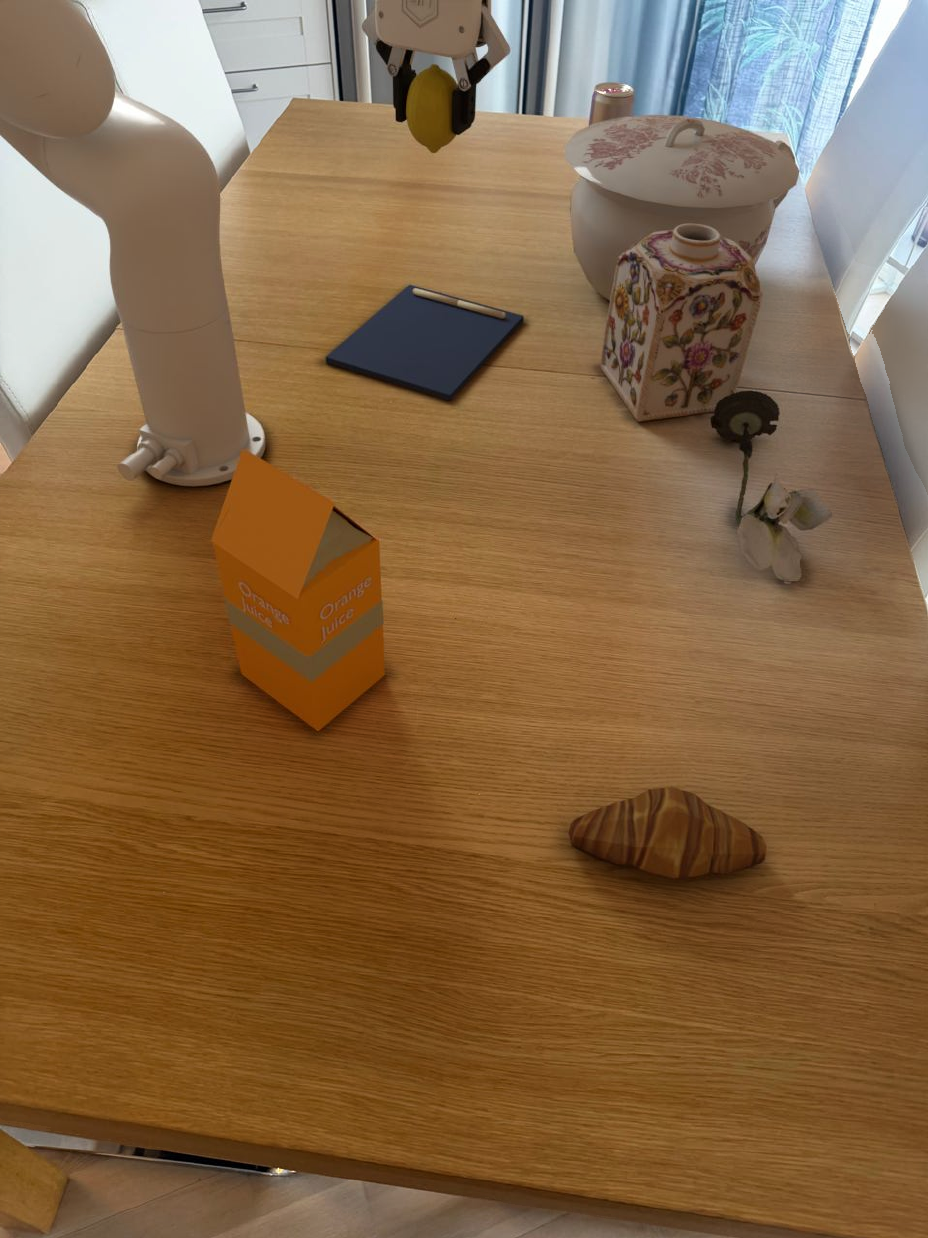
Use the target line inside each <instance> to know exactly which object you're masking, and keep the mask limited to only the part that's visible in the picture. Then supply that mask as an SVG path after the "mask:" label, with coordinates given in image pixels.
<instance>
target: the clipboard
mask: <svg viewBox="0 0 928 1238" xmlns="http://www.w3.org/2000/svg"><path fill="white" fill-rule="evenodd" d="M524 317H525V316H524V315H523V314H519V313H515V312H511V311H508V310H505V309H501V308H497V307H493V306H490V305H486V304H482V303H479V302H476V301H475V302H474V301H471V300H467V299H465V298H464V299H463V298H461V297H456V296H453V295H449V294H445V293H442V292H438V291H435V290H431V289H427V288H423V287H420V286H416V285H412V284H408V285H407V286H406V287H404V288H403V290H401V291H400V292H399V293H398V294H396V295H395V296H394V297H393V298H392V299H391V300H390V301H388V302H387V303H386V304H385V305H384V306H383V307H382V308H380V310H378V311H377V312H376V313H375V314H374V315H372V316H371V317H370V318H368V320H366V322H364V323H363V324H362V325H361V326H360V327H358V328H357V329H356V330H355V331H354V332H352V333H351V334H350V335H348V336H347V337H346V339H344V340H343V341H342V342H341V343H340V344H339V345H337V346H336V348H334V349H333V350H332V351H330V352H329V353H328V354H327V355H326V356H325V363H326V364H329V365H332V366H336V367H338V368H341V369H345V370H348V371H351V372H355V373H357V374H361V375H365V376H367V377H371V378H374V379H377V380H381V381H383V382H387V383H391V384H394V385H397V386H399V387H403V388H407V389H410V390H413V391H416V392H419V393H423V394H425V395H429V396H432V397H435V398H438V399H442V400H445V401H449V402H451V401H452V400H453V399H454V398H455V396H457V394H458V393H459V392H460V391H461V390H462V389H463V388H464V387H465V386H466V385H467V383H469V381H470V380H471V379H472V378H473V377H474V376H475V374H476V373H477V372H479V370H480V369H481V368H482V367H483V366H484V365H485V364H486V363H487V361H488V360H489V359H490V358H491V357H493V355H494V354H495V353H496V352H497V351H498V350H499V349H500V348H501V346H502V345H504V344H505V342H506V341H507V340H508V339H509V338H510V336H512V334H513V333H514V332H515V331H516V330H517V329H518V328H519V327H520V326H521V325H522V324H523V322H524V320H525V319H524Z"/></svg>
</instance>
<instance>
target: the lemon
mask: <svg viewBox="0 0 928 1238" xmlns="http://www.w3.org/2000/svg"><path fill="white" fill-rule="evenodd" d="M455 79H456V78H454V77H453V76H452V75H451V74H450V73H449V72H448V71H447V70H444V69H443V68H441V67H440V66H439V64H437V63H436V64H435V63H434V64H433V63H432V64H430V66H429V67H427V68H425V69H423V70H421V71H420V72H418V73H417V76H416V77H415V78H414V79H413V81H412V83H411V85H410V87H409V91H408V95H407V102H406V117H407V120H406V122H407V127H408V129H409V132H410V134H411V135H412V137H413V139H414V140H415V141H416V142H417V143H419V144H420V145H421V146H423V147H425V148H427V150H428V151H429V153H431V154H437V153H438V152H439V151H440V150H441V149H442V148H443V147H446V146H447V145H449V144H450V143H451V142H453V140H454V139H455V138H456V137H457V135H455V134H453V132H452V93H453V90H454V89H456V88H458V82H457V80H455Z"/></svg>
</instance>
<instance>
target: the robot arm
mask: <svg viewBox="0 0 928 1238" xmlns="http://www.w3.org/2000/svg"><path fill="white" fill-rule="evenodd" d="M374 1H375V2H374V3H375V5H374V7H372V9H371V10H370V12H369V13H368V15H367V16H366V18H365V19H364V20H363V22H362V24H361V29H362V32H363V33H364V34H365V35H366V37H367V38H368V40H369V41H370V42H371V44H372V45H374V46H375V49H376V52H377V53H378V55H379V56H380V58H381V60H382V61H383V62H384V64H385V65H386V71H387V73H388V75H389V76H390V77H392V106H393V108H394V110H395V121H396V122H397V123H403V122H406V121H407V117H406V102H407V95H408V91H409V87H410V85H411V83H412V81H413V79H414V78H415V77H416V76H417V75H418V73H417V72H416V69H412V65H413V61H414V57H415V54H416V52H418V53H423V54H428V55H434V56H440V57H445V58H449V59H450V58H451V62H452V65H453V70H454V74H455V79H456V83H457V85H458V88H456V89H454V90H453V93H452V132H453V134H455V135H456V136H460V135H462V134H463V133H464V132H466V131H467V130H469V129H470V128H471V127H472V125H473V123H474V121H475V118H476V107H477V106H476V103H477V85H478V84H480V83H481V81H482V80H483V79H484V78H485V77H486V76H487V75H488V74H489V73H490V72H491V71H492V70H493V69H494V68H495V67H496V66H497V65H499V63H501V62H502V61H503V60H504V59H506V57H508V55H509V54H510V53H511V47H510V44H509V43H508V41H507V39H506V38H505V36H504V34H503V32H502V31H501V29H500V27H499V26H498V24H497V22H496V20H495V19H494V17H493V16H492V0H374ZM484 46H487V52H486V54H484V55H483V56H482V57H480V59H479V57H478V51H477V48H481V47H484ZM0 137H1V138H2V139H4V141H6V142H7V143H8V144H9V145H10V146H11V147H12V148H13V149H14V150H15V151H16V152H17V153H19V154H20V155H21V157H22V158H24V159H25V160H26V161H27V162H28V163H29V164H30V165H31V166H32V167H33V168H35V169H36V170H37V171H38V172H39V173H40V174H41V175H42V176H44V178H45V179H47V180H48V181H49V182H50V183H51V184H52V185H53V186H55V187H56V188H58V190H60V191H61V192H62V193H64V195H67V196H68V197H69V198H71V199H72V200H74V201H75V202H77V203H79V205H81V206H82V207H85V208H86V209H88V210H89V211H90V212H91V213H93V214H94V215H95V216H97V217H98V218H100V219H101V220H102V222H103V223H104V225H105V227H106V229H107V233H108V238H109V279H110V284H111V289H112V295H113V299H114V303H115V307H116V308H115V309H116V311H117V315H118V317H119V321H120V325H121V329H122V332H123V337H124V340H125V344H126V349H127V352H128V356H129V361H130V365H131V367H132V371H133V376H134V379H135V383H136V387H137V391H138V395H139V399H140V404H141V407H142V411H143V414H144V418H145V422H146V423H145V424H144V425H143V426H141V427H140V428H139V433H140V436H139V437H138V439H137V444H136V451H135V452H134V453H130V454H129V455H128V456H126V458H124V459H123V460H122V461H120V462H119V463H118V464H117V470H118V473H119V474H120V476H121V477H123V478H124V479H125V480H127V481H129V482H130V481H131V482H132V481H134V480H135V479H136V478H137V477H139V476H140V475H142V473H144V472H146V473H148V474H149V475H150V476H152V477H153V478H155V479H156V480H159V481H161V482H165V483H167V484H170V485H176V486H181V487H203V486H204V487H206V486H212V485H218V484H221V483H225V482H228V481H232V478H233V475H234V472H235V470H236V467H237V464H238V461H239V458H240V455H241V452H242V449H243V448H244V449H245V450H247V451H249V452H250V453H252V454H254V455H255V456H257V457H259V458H260V459H262V457H263V455H264V453H265V450H266V443H267V441H266V440H267V439H266V436H265V430H264V428H263V425H262V424H261V423H260V422H259V420H257V418H255V417H254V416H252V415H251V414H250V413H248V412H246V407H245V401H244V395H243V389H242V383H241V375H240V370H239V369H240V368H239V364H238V357H237V352H236V346H235V339H234V334H233V327H232V322H231V316H230V309H229V302H228V298H227V293H226V285H225V279H224V274H223V273H224V271H223V265H222V264H223V263H222V255H221V254H222V253H221V242H220V241H221V237H220V234H221V233H220V227H221V226H220V225H221V224H220V223H221V188H220V187H221V186H220V181H219V175H218V172H217V169H216V167H215V165H214V162H213V160H212V158H211V157H210V154H209V153H208V151H207V149H206V148H205V147H204V145H203V144H202V143H201V142H200V141H199V139H197V137H195V135H194V134H193V133H192V132H191V131H189V129H187V128H186V127H184V126H183V125H182V124H181V123H180V122H178V121H176V120H175V119H173V118H171V117H169V116H167V115H166V114H164V113H162V112H160V111H158V110H156V109H155V108H153V107H151V106H148V105H147V104H145V103H142V102H141V101H137V100H135V99H133V98H132V97H130V96H127V95H126V94H124V93H122V92H121V91H119V90H118V89H116V78H115V71H114V68H113V64H112V61H111V59H110V56H109V52H108V51H107V49H106V47H105V45H104V43H103V42H102V40H101V38H100V36H99V35H98V33H97V31H96V30H95V28H94V27H93V26H92V25H91V23H90V21H88V19H87V18H86V17H85V15H84V14H83V13H82V12H81V11H80V10H79V9H78V8H77V7H76V5H74V3H73V2H72V1H71V0H0Z"/></svg>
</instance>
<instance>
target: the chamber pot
mask: <svg viewBox="0 0 928 1238" xmlns="http://www.w3.org/2000/svg"><path fill="white" fill-rule="evenodd" d="M564 153H565V160H566V162H567V163H568V165H570V166H571V167H572V169H574V171H575V172H576V173H577V174H578V175H579V177H578V179H577V180H576V182H575V183H574V185H573V186H572V189H571V196H570V205H569V214H570V215H569V216H570V225H571V226H570V227H571V236H572V237H571V239H572V246H573V247H572V248H573V253H574V255H575V257H576V259H577V261H578V264H579V265H580V268H581V270H582V272H583V274H584V276H585V278H586V280H587V281H588V282H589V284H590V285H591V286H592V288H594V290H595V291H596V292H597V294H598V295H599V296H601V297H602V298H604V300H605V299H606V301H608V302H610V298H611V292H612V287H613V281H614V276H615V270H616V266H617V259H618V257H619V256H621V255H622V253H623V252H625V251H627V250H629V248H630V247H631V246H633V245H634V244H635V243H638V242H640V241H641V240H642V239H644V238H646V237H647V236H649V235H650V234H651V233H653V232H657V231H668V230H674V229H675V228H676V227H677V226H679V225H682V224H701V225H706V226H709V227H712V228H714V229H715V230H717V231H718V233H719V234H720V237H723V238H726V239H730V240H732V241H734V242H736V243H737V244H738V245H739V246H741V247H742V248H743V249H744V250H745V251H746V252H747V254H748V255H749V256H750V257H751V258H752V259H753V261H754V265H755V266H756V265H757V262H758V261H759V259H760V257H761V255H762V253H763V250H764V249H765V246H766V245H767V242H768V238H769V235H770V231H771V228H772V223H773V221H774V218H775V217H774V216H775V214H776V209H777V208H778V207H779V206H780V204H782V202H783V201H784V200H785V198H786V197H787V195H788V193H789V190H792V189H794V187H796V186H797V182H798V179H799V175H800V169H799V167H798V165H797V163H796V157H795V154H794V152H793V150H792V148H791V147H790V146H789V145H788V144H787V143H786V142H784V141H783V140H776V141H775V142H774V141H773V140H771V139H769V138H766V137H764V136H762V135H759V134H758V133H755V132H753V131H750V130H748V129H744V128H742V127H738V126H735V125H731V124H727V123H724V122H721V121H716V120H713V119H706V118H700V117H693V116H687V115H686V116H685V115H672V114H671V115H668V114H645V115H632V116H630V117H619V118H615V119H610V120H606V121H601V122H597V123H594V124H591V125H589V124H588V126H586V127H584V128H582V129H579V130H578V131H575V132H574V134H573V135H572V136H571V137H570V138H569V140H568V141H567V143H566V144H565V145H564Z"/></svg>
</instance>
